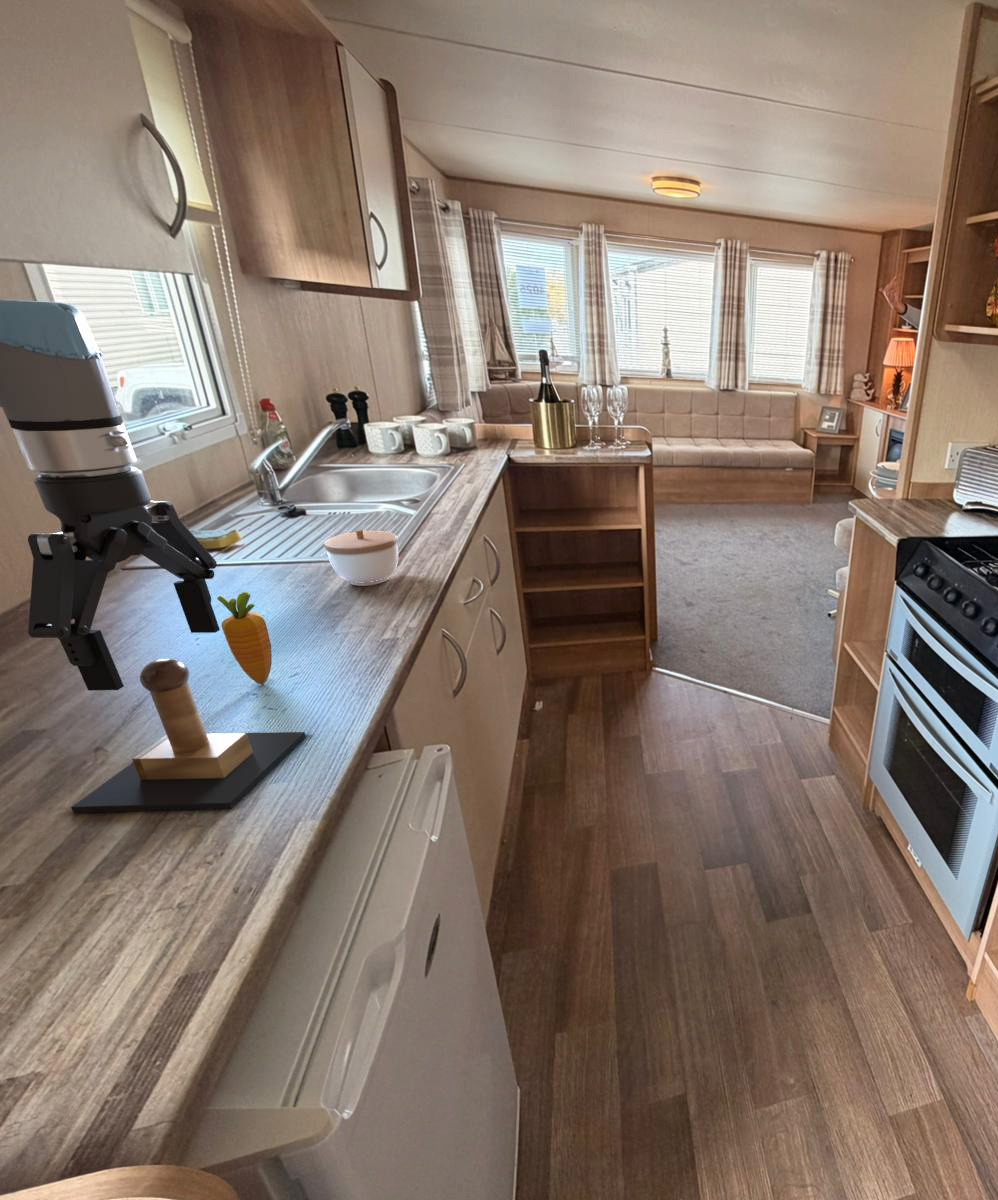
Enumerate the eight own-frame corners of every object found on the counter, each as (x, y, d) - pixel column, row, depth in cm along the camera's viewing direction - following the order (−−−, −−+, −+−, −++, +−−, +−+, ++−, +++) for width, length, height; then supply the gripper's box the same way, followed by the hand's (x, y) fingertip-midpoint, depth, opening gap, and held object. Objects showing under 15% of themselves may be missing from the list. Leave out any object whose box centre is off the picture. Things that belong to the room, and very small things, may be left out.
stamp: (140, 780, 74) (94, 671, 69) (174, 754, 79) (133, 650, 74) (224, 778, 76) (185, 671, 70) (253, 752, 80) (219, 650, 75)
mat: (73, 812, 70) (70, 807, 70) (174, 738, 83) (172, 733, 83) (231, 808, 72) (229, 803, 72) (306, 736, 85) (304, 731, 85)
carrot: (232, 688, 95) (201, 596, 89) (267, 673, 99) (239, 584, 93) (257, 695, 93) (227, 601, 88) (291, 679, 98) (264, 589, 92)
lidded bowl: (329, 576, 136) (317, 527, 132) (396, 566, 144) (387, 519, 140) (339, 595, 127) (326, 543, 123) (410, 582, 135) (400, 533, 131)
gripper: (-2, 500, 52) (96, 718, 61) (219, 449, 75) (269, 612, 83) (-106, 498, 52) (7, 720, 60) (149, 447, 74) (206, 612, 83)
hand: (160, 657), depth 72 cm, fingers open, 13 cm apart
